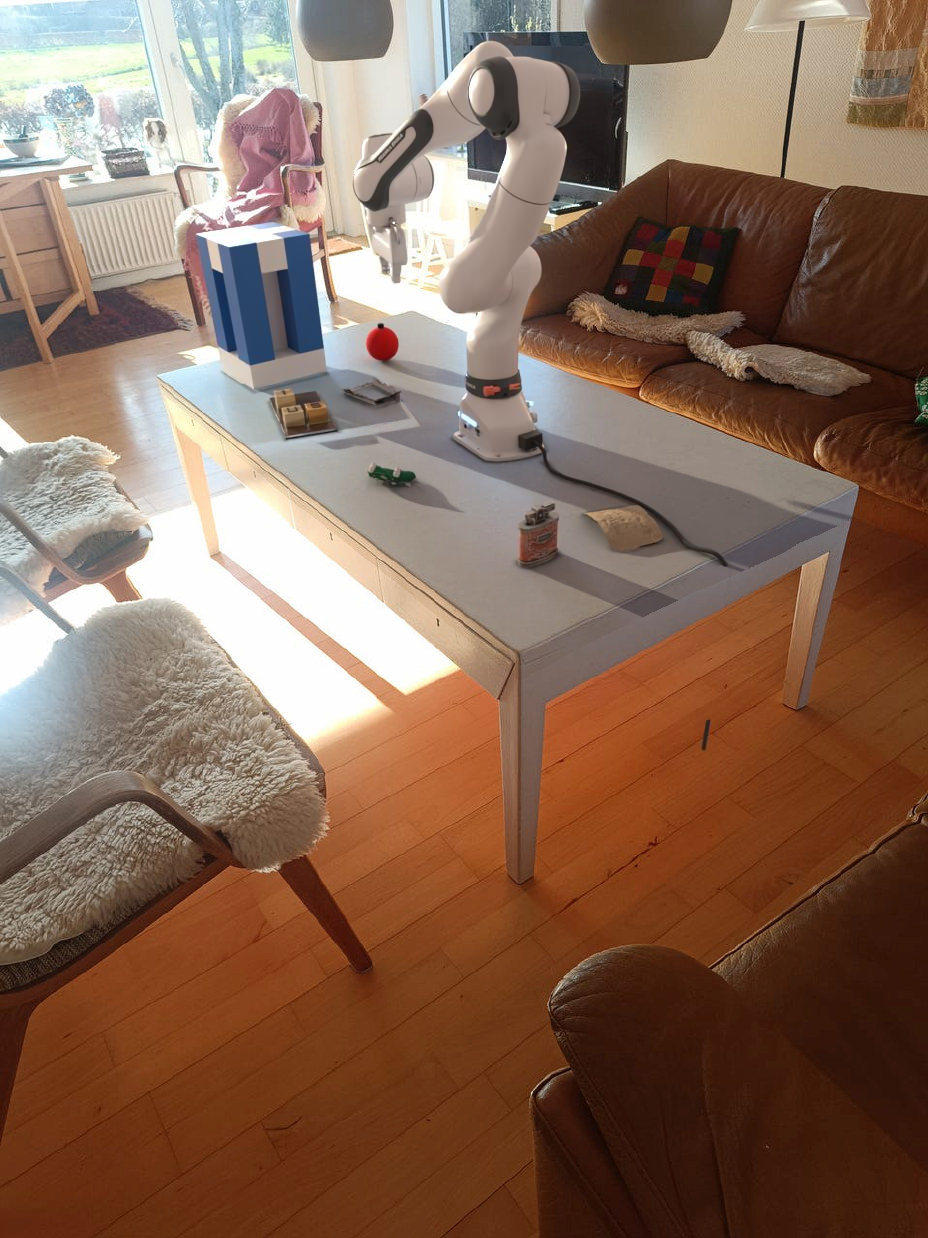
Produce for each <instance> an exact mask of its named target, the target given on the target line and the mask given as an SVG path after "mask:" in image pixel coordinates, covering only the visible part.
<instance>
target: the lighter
mask: <svg viewBox="0 0 928 1238" xmlns="http://www.w3.org/2000/svg"><path fill="white" fill-rule="evenodd" d="M555 510H556V502H554V501H553V500H551V501H548V502H545V503H543V504H541V505H540V506H539V505H537V504H534V505H532V507H531V508H530V509H529V510H526V511H524V520H522V521H520V522H519V523H518V524H517V529H518V532H519V533H518V558H517V565H518V566H519V567H521V568H530V567H531V568H532V567H535V566H538V565H540V564H543V563H546V562H547V561H550V560H552V559H553V558H555V557H557V556H558V553H559V548H558V532H559V531H558V530H559V527H558V526H559V520H560V514H559V513H558V512H556V511H555Z"/></svg>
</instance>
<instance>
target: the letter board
mask: <svg viewBox="0 0 928 1238" xmlns="http://www.w3.org/2000/svg"><path fill="white" fill-rule="evenodd" d="M268 400H269V402H270V404H271V406H272V408H273V411H274V414H275V416H276V418H277V420H278V422H279V425H280V427H281V429H282V431H283V434H284V436H285V441H288V440H295V439H300V438H301V439H302V438H307V437H315V436H320V435H327V434H333V433H338V432H339V430H338V426H337V424H336V423H335V421H334V419H333V417H332V415H331V414H330V413H329V411H328V410H327V413H328V421H321V422H315V423H310V422H309V420H308V418H307V416H306V410H305V404H307V403H314V402H321V401H323V400H322V398H321V397H320V395H319V394H318V392H317V391H316V390H313V391H306V392H300V393H294V391H293V389H292V388H286V389H285V388H284V389H277V390H273V396H272V397H268Z"/></svg>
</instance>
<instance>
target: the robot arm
mask: <svg viewBox="0 0 928 1238" xmlns="http://www.w3.org/2000/svg"><path fill="white" fill-rule="evenodd" d="M580 99H581V85H580V81H579V79H578V76H577V74H576V72H575V71H574V70H573V69H572V68H571V67H569V66H568V65H566V64H564V63H562V62H558V61H554V60H549V61H547V60H543V59H540V58H539V59H538V58H533V57H530V56H514V55H513V53H512V51H511V50H510V49H509V48H508V47H507V46H505V45H504V44H502V43H501V42H498V41H495V40H486V41H483V42H481V43H479V44H478V45H476V47H474V48H473V49H472V50H471V51H469V53H468V54H466V56H465V57H464V58H463V59H462V60H461V61H460V62H459V63H458V64H457V66H455V68H454V69H453V71H451V73H450V74H449V76H448V77H447V78H446V79H445V81H444V82H443V83H442V84H441V86H440V87H439V88H437V90H436V91H435V92H434V93H433V94H432V95H431V96H430V97H429V99H427V100H426V101H425V102H424V103H423V104H422V105H421V106H420V107H419V108H418V109H417V110H415V111H414V112H413V113H412V114H411V115H410V116H409V117H407V119H405V120H404V122H403V123H401V125H399V127H398V128H397V129H396V130H394V132H384V133H380V134H373V135H370V136H367V137H366V138H365V139H364V140H363V144H362V157H361V159H360V160H359V162H358V164H357V165H356V168H355V170H354V173H353V176H352V189H353V193H354V195H355V197H356V198H357V200H358V201H359V202H360V204H362V205H363V207H365V208H364V218H365V219H366V222H367V228H368V234H369V241H370V245H371V249H372V250H373V251H374V252H375V253H376V254H377V256H378V260H379V264H380V269H381V273H382V274H383V275H389V274H390V273H391V274H390V277H391V282H392V283H393V284H400V283H401V274H402V266H406V265H407V264H408V260H409V259H408V248H407V242H406V241H407V240H406V233H405V230H404V229H403V228H402V224H405V223H406V222H407V217H406V215H407V214H406V205H408V204H412V203H417V202H421V201H423V200H427V199H428V198H429V197H430V196H431V194H432V192H433V190H434V185H435V172H434V168H433V166H432V163H431V162H430V160H429V159H428V157H426V156H425V155H426V154H429V153H431V152H434V151H437V150H441V149H446V148H449V147H450V148H451V147H454V146H459V145H463V144H465V143H468V142H470V141H472V140H474V139H475V138H476V137H478V136H479V135H480V134H481V133H482V132H484V131H485V130H486V129H487V131H488V134H489V135H490V137H491V138H493V139H494V140H497V141H501V140H505V142H506V153H505V156H504V160H503V162H502V165H501V167H500V170H499V173H498V175H497V179H496V182H495V184H494V187H493V190H492V192H491V195H490V198H489V201H488V203H487V206H486V207H485V211H484V213H483V215H482V217H481V219H480V221H479V222H478V224H477V225H476V227H475V229H474V230H473V231H472V233H471V235H470V237H469V238H468V239H467V241H466V242H465V244H464V245H463V247H462V248H461V250H460V251H459V252H458V253H457V255H456V256H455V257H454V259H452V260H451V261H450V262H449V263H448V264H447V265H446V266H444V268H443V269H442V270H441V272H440V275H439V279H438V290H439V294H440V295H439V296H440V298H441V300H442V302H443V304H444V305H445V307H446V308H447V309H449V310H450V311H451V312H452V313H455V314H458V315H461V314H463V315H464V314H465V315H466V314H467V315H468V314H477V315H476V318H475V320H474V322H473V324H472V325H471V326H470V328H469V330H468V332H467V334H466V339H465V345H466V370H465V376H464V383H465V385H464V386H465V390H466V391H465V394H464V396H463V397H462V398H461V400H460V402H459V411H458V412H457V413H458V414H457V415H458V416H459V419H458V420H459V421H458V422H459V423H458V424H459V425H458V426H459V427H458V428H459V429H458V430H457V431H456V432H454V433H453V440H454V441H456V442H457V443H458V444H460V445H461V446H462V447H464V448H466V449H467V450H468V451H470V452H471V453H473V454H474V455H476V456H477V457H479V458H480V459H482V460H484V461H486V462H509V461H515V460H521V459H526V458H530V457H534V456H537V455H540V454H542V460H543V463H544V465H545V467H546V468H547V470H548V471H549V472H550V473H551V474H553V475H554V476H556V477H558V478H561V479H563V480H565V481H568V482H572V483H576V484H579V485H583V486H586V487H590V488H592V489H595V490H599V491H602V492H605V493H608V494H611V495H613V496H616V497H619V498H621V499H623V500H626V501H628V502H630V503H633V504H635V505H638V506H640V507H642V508H643V509H644V510H645V511H646V512H647V511H648V512H649V513H650V514H652V515H654V516H655V517H656V518H657V519H659V520H660V521H661V522H662V523H663V524H664V525H666V526H667V527H668V528H669V529H670V530H671V531H672V532H673V533H674V535H675V536H676V537H677V538H678V540H679V541H680V542H681V543H682V544H684V545H685V546H686V547H687V548H689V549H691V550H693V551H696V552H701V553H706V554H708V555H711V556H713V557H714V558H716V559H717V560H718V561H719V563H720V565H721V566H722V567H724V568H726V567H728V563H727V561H726V560H725V558H724V557H723V556H722V555H721V554H720V552H718V551H716V550H714V549H711V548H708V547H704V546H699V545H696V544H694V543H692V542H691V541H689V540H688V539H687V538H685V536H684V535H682V533H681V532H680V530H679V529H678V528H677V527H676V526H675V525H674V524H673V523H672V522H671V521H669V520H668V519H667V518H666V517H665V516H664V515H662V514H661V513H660V512H658V511H657V510H656V509H654V508H653V507H651V506H650V505H648V504H646V503H645V502H643V501H641V500H638V499H636V498H634V497H632V496H630V495H628V494H625V493H622V492H621V491H617V490H614V489H611V488H609V487H605V486H603V485H600V484H596V483H593V482H590V481H586V480H583V479H580V478H577V477H572V476H569V475H566V474H564V473H562V472H560V471H558V470H556V469H554V468H553V467H552V466H551V465H550V462H549V460H548V455H547V451H546V448H545V444H544V443H543V439H544V437H543V436H544V435H543V433H542V432H541V431H539V430H537V429H536V427H535V426H534V424H537V423H538V414H537V412H535V411H534V412H531V411H530V407H531V406H534V401H531V400H526V398H525V395H524V391H523V384H522V376H521V371H520V369H519V346H520V345H519V344H520V332H521V327H522V323H523V319H524V316H525V312H526V308H527V305H528V302H529V300H530V297H531V295H532V293H533V292H534V290H535V288H536V287H537V286H538V284H539V282H540V280H541V277H542V263H541V259H540V257H539V255H538V253H537V251H536V249H534V248H533V247H532V246H531V245H533V243H534V242H535V241H536V240H537V238H538V236H539V234H540V232H541V229H542V227H543V225H544V222H545V220H546V218H547V215H548V213H549V210H550V208H551V205H552V203H553V200H554V197H555V196H556V193H557V190H558V187H559V184H560V181H561V177H562V174H563V170H564V166H565V162H566V157H567V150H568V146H567V141H566V139H565V137H564V135H563V134H562V132H561V131H560V130H559V129H558V128H560V127H563V126H565V125H566V124H567V125H568V123H570V121H572V119H573V118H574V117H575V115H576V113H577V110H578V108H579V105H580ZM711 721H712V719H711V718H709V719H706V720H705V725H704V731H703V735H702V736H703V737H702V743H701V751H706V750H707V745H708V738H709V733H710V725H711Z"/></svg>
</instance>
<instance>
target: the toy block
mask: <svg viewBox="0 0 928 1238" xmlns="http://www.w3.org/2000/svg"><path fill="white" fill-rule="evenodd" d="M195 237H196V243H197V247H198V248H197V249H198V253H199V257H200V263H201V268H202V272H203V274H202V275H203V278H204V283H205V288H206V294H207V297H208V304H209V309H210V314H211V319H212V324H213V329H214V335H215V340H216V344H217V349H218V350H217V351H218V354H219V355H218V356H219V360H220V365H221V370H222V372H223V373H224V374H225V375H227V376H229V377H230V378H232V379H233V380H235V381H236V382H238V383H239V384H240V385H247V386H248V387H250V388H251V389H253V390H256V389H260V388H264V387H268V386H272V385H276V384H280V383H284V382H288V381H293V380H296V379H300V378H305V377H308V376H312V375H315V374H323V373H327V372H328V369H327V360H326V353H325V346H324V338H323V330H322V321H321V314H320V306H319V298H318V289H317V282H316V275H315V266H314V259H313V250H312V243H311V234H310V233H309V232H305V231H302V230H299V229H297V228H294V227H290V226H287V225H284V224H280V223H278V222H274V221H270V222H269V221H268V222H264V223H257V224H251V225H244V226H237V227H231V228H224V229H219V230H212V231H205V232H199V233H195Z"/></svg>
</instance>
